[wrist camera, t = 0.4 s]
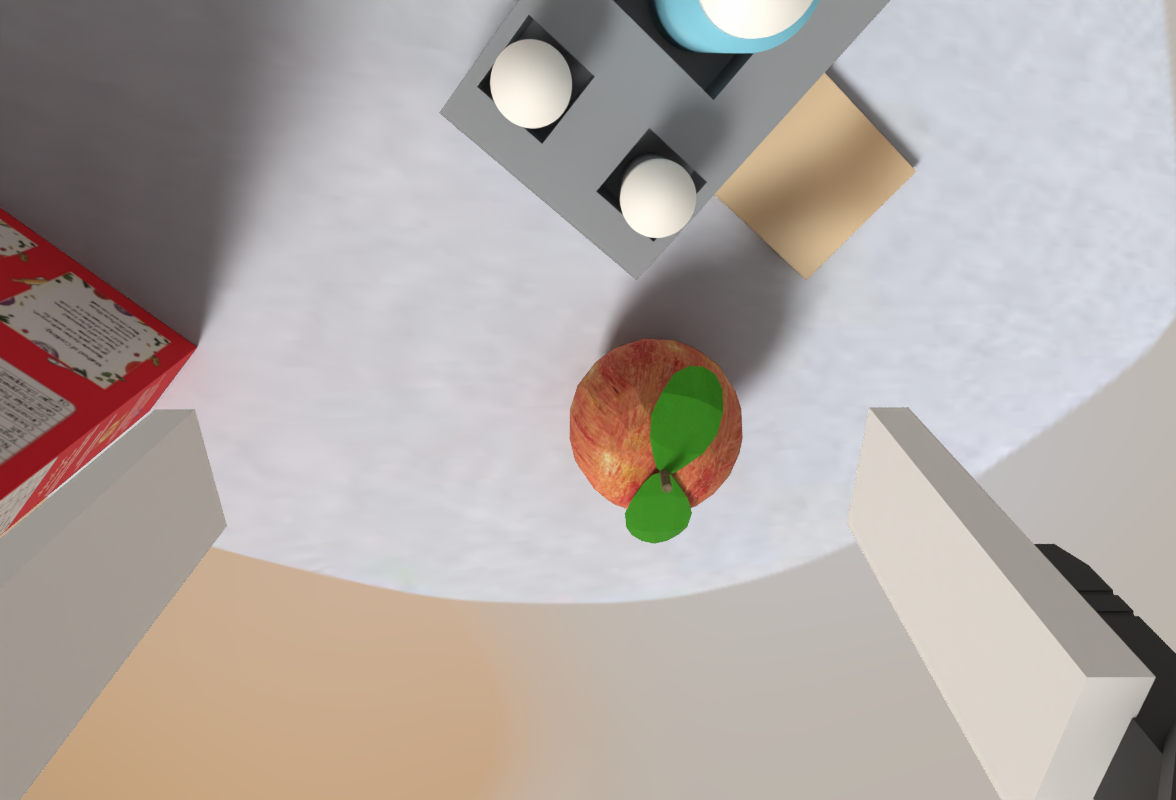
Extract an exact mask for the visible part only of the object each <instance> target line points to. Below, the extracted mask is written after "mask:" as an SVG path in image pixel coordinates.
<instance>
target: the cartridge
mask: <svg viewBox="0 0 1176 800" xmlns="http://www.w3.org/2000/svg"><path fill="white" fill-rule="evenodd" d="M819 1H820V0H649V7H650V12H651V16H652V19H653V22H654V24H655V26H656V28H657V30H658V31H659V33H660V34H661V35H662V37H663V38H664V39H665V40H666V41H667V42H669V43H670V44H671V45H673V46H674V47H676V48H678V49H680V50H683V51H687V52H693V53H757V52H762V51H766V50H769V49H772V48H774V47H776V46H778V45H780V44H782V43H783V42H785V41H787V40H788V39H790V38H791V37H792V36H793V35H794V34H796V33H797V32H798V31H799V30H800V29H801V28H802V27H803V26H804V24H805V23H806V22H807V21H808V19H809V18H810V17H811V15H812V14H813V12H814V10H815V9H816V7H817V5H818V3H819Z"/></svg>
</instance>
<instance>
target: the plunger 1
mask: <svg viewBox="0 0 1176 800" xmlns="http://www.w3.org/2000/svg"><path fill="white" fill-rule="evenodd" d="M490 86H491V93H492V96H493V100H494V102H495V104H496V106H497V108H498V109H499V111H500V112H501V113H502V114H503V115H504V116H505V117H506V118H507V119H508V120H509V121H511V122H512V123H514V124H516V125H518V126H521V127H525V128H541V127H544V126H547V125H549V124H551V123H552V122H554V121H555V120H557V119H558V118H559V117H560V116H561V115H562V113H563V112H564V111H565V109H566V107H567V105H568V103H569V100H570V97H571V92H572V78H571V73H570V69H569V67H568V64H567V62H566V61H565V59H564V57H563V56H562V55H561V54H560V53H559V51H558V50H556V49H555V48H554V47H553V46H551V45H549V44H548V43H545V42H543V41H539V40H534V39H525V40H520V41H517V42H514V43H512V44H510V45H509V46H508V47H506V48H505V49H504V50H503V51H502V52H501V53H500V54H499V56H498V57H497V59H496V61H495V63H494V65H493V68H492V72H491V78H490Z"/></svg>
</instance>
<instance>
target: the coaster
mask: <svg viewBox="0 0 1176 800" xmlns="http://www.w3.org/2000/svg"><path fill="white" fill-rule="evenodd" d="M915 172H916V171H915V170H914V169H913V167H912V166H911V165H910V164H909V163H908V162H907V161H906V160H905V159H904V158H903V157H902V156H901V155H900V153H899V152H898V151H897V150H896V149H895V148H894V147H893V146H892V145H891V144H890V143H889V142H888V141H887V139H886V138H885V137H884V136H883V135H882V134H881V133H880V132H879V131H878V130H877V129H876V128H875V126H874V125H873V124H872V123H871V122H870V121H869V120H868V119H867V118H866V117H865V116H864V115H863V114H862V112H861V111H860V110H859V109H858V108H857V107H856V106H855V105H854V104H853V103H852V102H851V101H850V99H849V98H848V97H847V96H846V95H845V94H844V93H843V92H842V91H841V90H840V89H839V88H838V87H837V85H836V84H835V83H834V82H833V81H832V80H831V79H830V78H829V77H828V76H827V75H826V74H825V73H824V74H823V75H822V76H821V77H820V78H819V80H818V81H817V82H816V83H815V84H814V85H813V86H812V87H811V88H810V89H809V91H808V92H807V93H806V94H805V95H804V96H803V97H802V98H801V99H800V100H799V102H798V103H797V104H796V105H795V106H794V107H793V108H792V109H791V110H790V112H789V113H788V114H787V115H786V116H785V117H784V118H783V119H782V120H781V121H780V123H779V124H778V125H777V126H776V127H775V128H774V129H773V130H772V131H771V132H770V134H769V135H768V136H767V137H766V138H765V139H764V140H763V141H762V142H761V144H760V145H759V146H758V147H757V148H756V149H755V150H754V151H753V152H752V153H751V155H750V156H749V157H748V158H747V159H746V160H745V161H744V162H743V163H742V164H741V166H740V167H739V168H738V169H737V170H736V171H735V172H734V173H733V174H732V176H731V177H730V178H729V179H728V180H727V181H726V182H725V183H724V184H723V185H722V187H721V188H720V189H719V190H718V191H717V192H716V193H715V195H716V196H717V197H718V198H719V199H720V200H721V201H722V202H724V203H725V204H726V205H727V206H728V207H729V208H730V209H731V210H732V211H733V212H734V213H735V214H736V215H737V216H738V217H740V218H741V219H742V220H743V221H744V222H745V223H746V224H747V225H748V226H749V227H750V228H751V229H752V230H753V231H754V232H756V233H757V234H758V235H759V236H760V237H761V238H762V239H763V240H764V241H765V242H766V243H767V244H768V245H769V246H770V247H772V248H773V249H774V250H775V251H776V252H777V253H778V254H779V255H780V256H781V257H782V258H783V259H784V260H785V261H786V262H788V263H789V264H790V265H791V266H792V267H793V268H794V269H795V270H796V271H797V272H798V273H799V274H800V275H801V276H802V277H803V278H805V279H806V280H807V279H808V278H809V277H810V276H811V275H812V274H813V273H814V272H815V271H816V270H817V269H818V268H819V267H820V266H821V265H822V264H823V263H824V262H825V261H826V260H827V259H828V258H829V257H830V256H831V255H832V254H833V253H834V252H835V251H836V250H837V249H838V248H839V247H840V246H841V245H842V244H843V243H844V242H845V241H846V240H847V239H848V238H849V237H850V236H851V235H852V234H853V233H854V232H855V231H856V230H857V229H858V228H859V227H860V226H861V225H862V224H863V223H864V222H865V221H866V220H867V219H868V218H870V217H871V216H872V215H873V214H874V213H875V212H876V211H877V210H878V209H879V208H880V207H881V206H882V205H883V204H884V203H885V202H886V201H887V200H888V199H889V198H890V197H891V196H892V195H893V194H894V193H895V192H896V191H897V190H898V189H899V188H900V187H901V186H902V185H903V184H904V183H905V182H906V181H907V180H908V179H909V178H910V177H911V176H912V175H913V174H914V173H915Z"/></svg>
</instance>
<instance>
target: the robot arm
mask: <svg viewBox="0 0 1176 800" xmlns="http://www.w3.org/2000/svg"><path fill="white" fill-rule="evenodd" d="M846 524H847V525H848V527H849V529H850V531H851V533H852V534H853V536H854V538H855V540H856V541H857V543H858V545H859V547H860V549H861V550H862V552H863V554H864V556H865V558H866V559H867V561H868V563H869V565H870V566H871V568H872V570H873V571H874V574H875V575H876V577H877V579H878V581H879V583H880V584H881V586H882V588H883V590H884V591H885V593H886V595H887V597H888V599H889V600H890V602H891V604H892V605H893V607H894V609H895V611H896V613H897V615H898V616H899V618H900V620H901V622H902V624H903V625H904V627H905V629H906V631H907V633H908V634H909V636H910V638H911V640H912V641H913V643H914V645H915V647H916V649H917V650H918V652H919V654H920V656H921V658H922V659H923V661H924V663H925V665H926V667H927V668H928V670H929V672H930V674H931V675H932V677H933V679H934V681H935V683H936V684H937V686H938V688H939V690H940V692H941V693H942V695H943V697H944V699H945V700H946V702H947V704H948V706H949V708H950V709H951V711H952V713H953V715H954V717H955V718H956V720H957V722H958V724H959V725H960V727H961V729H962V731H963V733H964V734H965V736H966V738H967V740H968V742H969V743H970V745H971V747H972V749H973V750H974V752H975V754H976V756H977V758H978V759H979V761H980V763H981V765H982V766H983V768H984V770H985V772H986V774H987V775H988V777H989V779H990V781H991V782H992V784H993V786H994V788H995V790H996V792H997V793H998V795H999V797H1000V799H1001V800H1176V653H1175V652H1173V650H1171V648H1170V647H1169V646H1168V645H1166V644H1165V642H1164V641H1163V640H1161V638H1160V637H1159V636H1158V635H1157V634H1156V633H1155V632H1154V631H1153V630H1152V629H1151V628H1150V627H1149V626H1148V625H1147V624H1146V623H1145V622H1144V621H1143V620H1142V619H1141V618H1140V617H1139V616H1134V614H1133V610H1132V609H1131V608H1130V607H1129V606H1128V605H1127V604H1126V603H1125V602H1124V601H1123V600H1122V599H1121V598H1120V597H1119V596H1118V595H1114V594H1113V590H1112V589H1111V588H1110V587H1109V586H1108V585H1107V584H1106V583H1105V582H1104V581H1103V580H1102V579H1101V577H1100V576H1098V574H1096V572H1095V571H1093V569H1091V567H1090V566H1089V565H1087V564H1086V563H1084V562H1082V561H1081V560H1079V559H1077V558H1076V557H1074V556H1073V555H1071V554H1070V553H1068V552H1066V551H1065V550H1063V549H1061V548H1060V547H1058V546H1057V545H1055V544H1033V543H1032V542H1031V541H1030V539H1029V538H1027V537H1026V535H1025V534H1024V533H1023V532H1022V531H1021V530H1020V529H1019V527H1018V526H1017V525H1016V524H1015V523H1014V522H1013V521H1012V520H1011V519H1010V518H1009V517H1008V516H1007V514H1006V513H1005V512H1004V511H1003V510H1002V509H1001V508H1000V507H999V506H998V505H997V504H996V502H995V501H994V500H993V499H992V498H991V497H990V496H989V495H988V494H987V493H986V492H985V490H984V489H983V488H982V487H981V486H980V485H979V484H978V483H977V482H976V481H975V480H974V478H973V477H972V476H971V475H970V474H969V473H968V472H967V471H966V470H965V469H964V468H963V466H962V465H961V464H960V463H959V462H958V461H957V460H956V459H955V458H954V457H953V456H952V454H951V453H950V452H949V451H948V450H947V449H946V448H945V447H944V446H943V445H942V444H941V443H940V441H939V440H938V439H937V438H936V437H935V436H934V435H933V434H932V433H931V432H930V431H929V429H928V428H927V427H926V426H925V425H924V424H923V423H922V422H921V421H920V420H919V419H918V417H917V416H916V415H915V414H914V413H913V412H912V411H911V410H910V409H909V408H869V411H868V416H867V422H866V427H865V432H864V437H863V442H862V447H861V452H860V457H859V462H858V467H857V472H856V478H855V483H854V488H853V493H852V498H851V503H850V508H849V513H848V518H847V523H846ZM226 526H227V525H226V521H225V518H224V514H223V510H222V507H221V503H220V499H219V496H218V492H217V489H216V485H215V481H214V478H213V474H212V470H211V467H210V463H209V459H208V456H207V452H206V449H205V445H204V441H203V438H202V434H201V430H200V427H199V423H198V420H197V416H196V412H195V410H154V411H153V412H152V413H151V414H149V415H148V416H147V417H146V418H145V419H143V420H142V421H141V422H140V423H139V424H137V425H136V426H135V427H134V428H133V429H131V430H130V431H129V432H128V433H127V434H125V435H124V436H123V437H122V438H121V439H119V440H118V441H117V442H116V443H115V444H113V445H112V446H111V447H110V448H109V449H107V450H106V451H105V452H104V453H103V454H101V455H100V456H99V457H98V458H97V459H95V460H94V461H93V462H92V463H91V464H89V465H88V466H87V467H86V468H85V469H83V470H82V471H81V472H80V473H79V474H77V475H76V476H75V477H74V478H73V479H71V480H70V481H69V482H68V483H66V484H65V485H64V486H63V487H62V488H60V489H59V490H58V491H57V492H56V493H54V494H53V495H52V496H51V497H50V498H48V499H47V500H46V501H45V502H44V503H42V504H41V505H40V506H39V507H38V508H36V509H35V510H34V511H33V512H32V513H31V514H29V515H28V516H27V517H26V518H24V519H23V520H22V521H21V522H20V523H18V524H17V525H16V526H15V527H14V528H13V529H11V530H10V531H9V532H8V533H6V534H5V535H4V536H3V537H2V538H0V800H20V799H21V798H22V797H23V795H24V794H25V793H26V791H27V790H28V789H29V787H30V786H31V785H32V783H33V782H34V781H35V779H36V778H37V777H38V775H39V774H40V773H41V771H42V770H43V769H44V767H45V766H46V765H47V764H48V762H49V761H50V759H51V758H52V757H53V756H54V754H55V753H56V752H57V750H58V749H59V748H60V746H61V745H62V744H63V742H64V741H65V740H66V738H67V737H68V736H69V734H70V733H71V732H72V730H73V729H74V728H75V726H76V725H77V724H78V722H79V721H80V720H81V718H82V717H83V716H84V714H85V713H86V712H87V710H88V709H89V708H90V707H91V705H92V704H93V702H94V701H95V700H96V699H97V697H98V696H99V695H100V693H101V692H102V690H103V689H104V688H105V687H106V685H107V684H108V683H109V681H110V680H111V679H112V677H113V676H114V675H115V673H116V672H117V670H118V669H119V668H120V667H121V665H122V664H123V663H124V661H125V660H126V659H127V657H128V656H129V655H130V653H131V652H132V651H133V649H134V648H135V647H136V646H137V644H138V643H139V642H140V640H141V639H142V638H143V636H144V635H145V634H146V632H147V631H148V630H149V628H150V627H151V626H152V624H153V623H154V622H155V620H156V619H157V618H158V616H159V615H160V614H161V612H162V611H163V610H164V608H165V607H166V606H167V604H168V603H169V602H170V600H171V599H172V598H173V596H174V595H175V594H176V593H177V591H178V590H179V588H180V587H181V586H182V585H183V583H184V582H185V580H186V579H187V578H188V577H189V575H190V574H191V573H192V571H193V570H194V568H195V567H196V566H197V565H198V563H199V562H200V561H201V559H202V558H203V557H204V555H205V554H206V553H207V551H208V550H209V549H210V547H211V546H212V545H213V543H214V542H215V541H216V539H217V538H218V537H219V536H220V534H221V533H222V532H223V530H224V529H225V528H226Z"/></svg>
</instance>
